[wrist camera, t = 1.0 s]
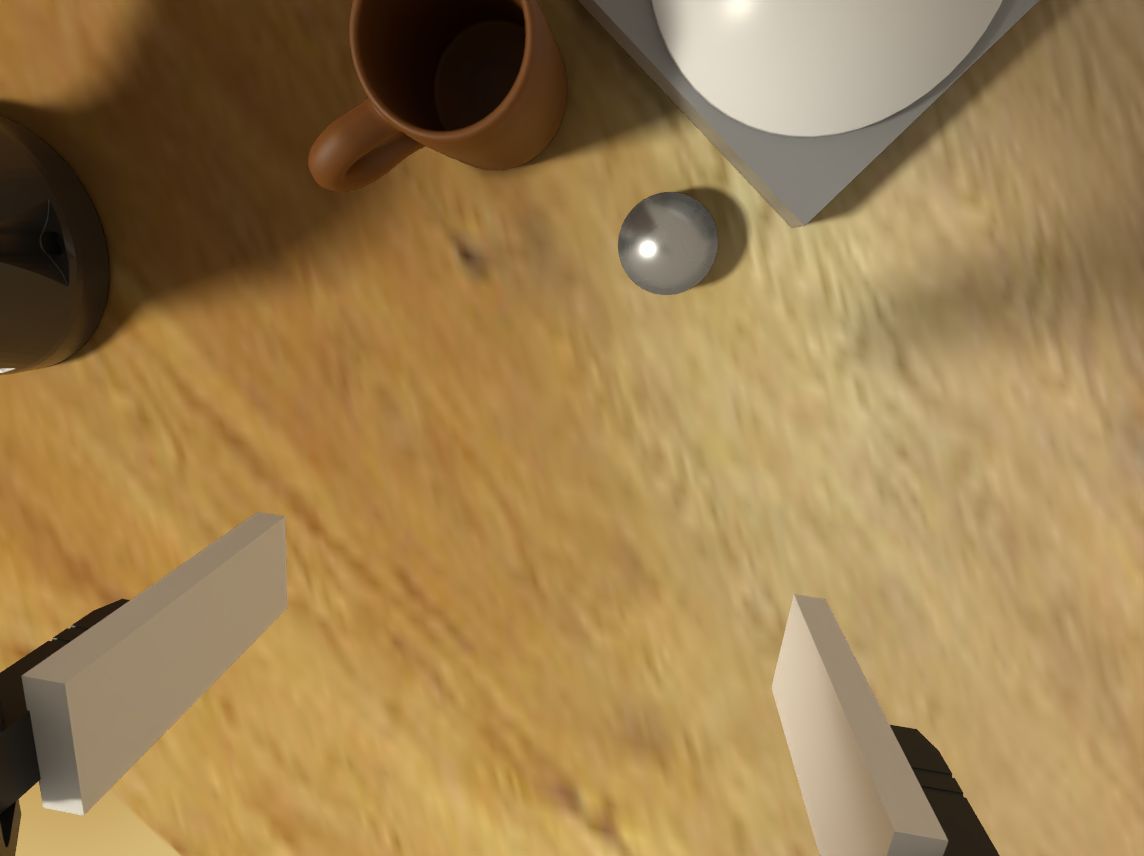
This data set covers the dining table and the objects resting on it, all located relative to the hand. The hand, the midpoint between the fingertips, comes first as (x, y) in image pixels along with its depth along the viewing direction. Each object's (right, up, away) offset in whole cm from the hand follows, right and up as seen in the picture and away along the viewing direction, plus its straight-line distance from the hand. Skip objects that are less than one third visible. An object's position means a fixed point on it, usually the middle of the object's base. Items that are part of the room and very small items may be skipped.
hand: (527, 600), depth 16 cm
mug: (-4, +20, +17) cm, 27 cm away
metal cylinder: (+6, +14, +18) cm, 24 cm away
